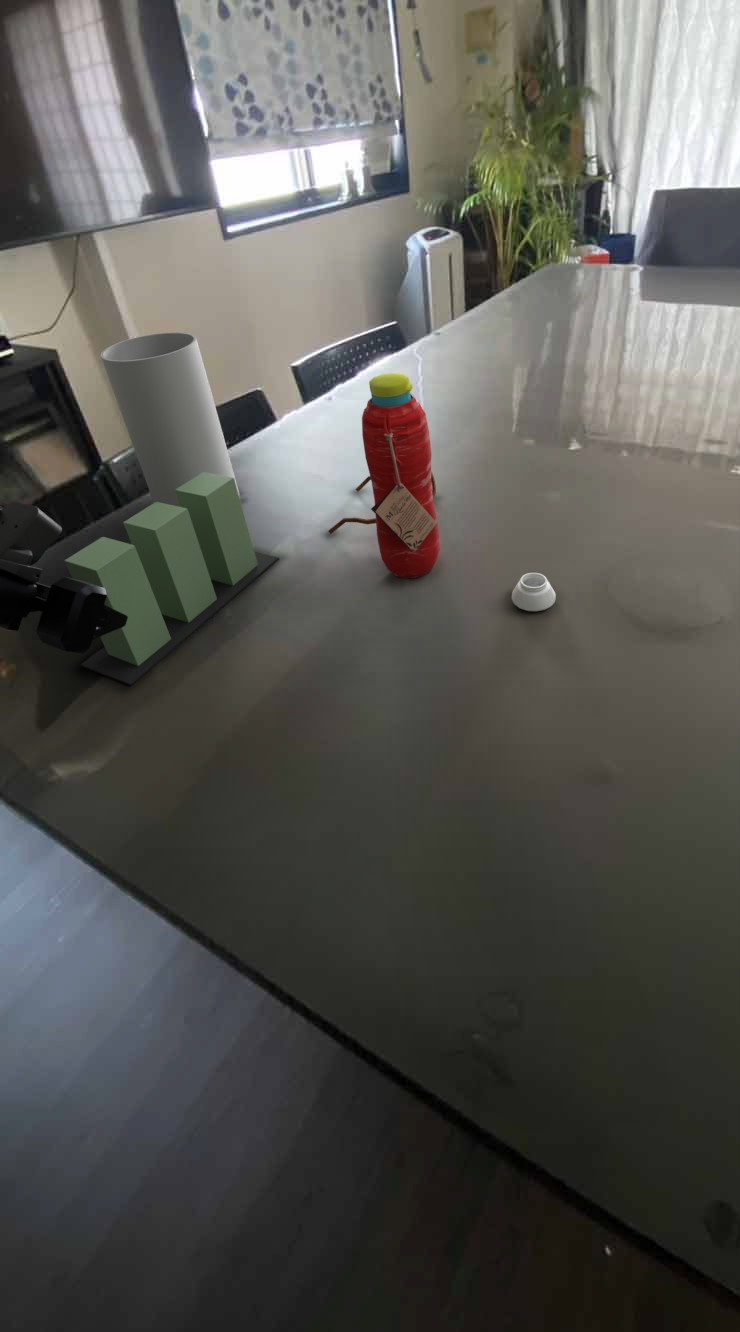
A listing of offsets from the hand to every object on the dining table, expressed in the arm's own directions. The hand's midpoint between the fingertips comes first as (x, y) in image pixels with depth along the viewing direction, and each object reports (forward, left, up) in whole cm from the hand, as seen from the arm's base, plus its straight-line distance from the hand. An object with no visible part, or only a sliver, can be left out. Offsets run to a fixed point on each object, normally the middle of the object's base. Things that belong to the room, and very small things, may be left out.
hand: (95, 610), depth 72 cm
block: (+3, 0, -7) cm, 8 cm away
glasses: (+41, -4, -8) cm, 42 cm away
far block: (+19, +3, -7) cm, 20 cm away
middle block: (+11, +2, -7) cm, 13 cm away
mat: (+11, +2, -8) cm, 13 cm away
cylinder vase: (+28, +23, -8) cm, 37 cm away
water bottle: (+31, -17, -8) cm, 36 cm away
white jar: (+34, -33, -8) cm, 48 cm away
